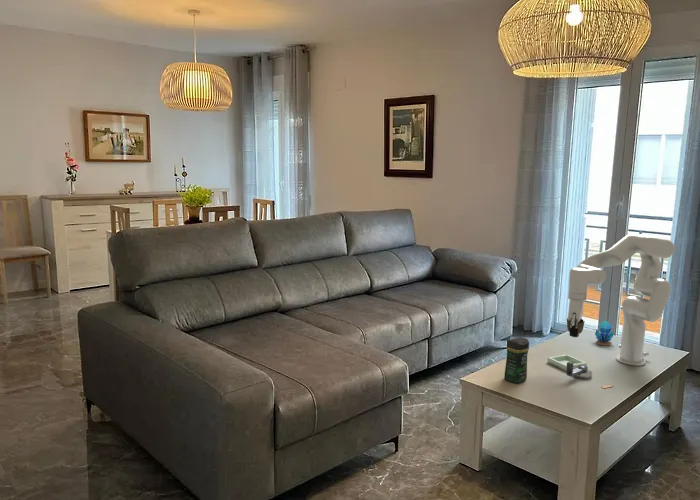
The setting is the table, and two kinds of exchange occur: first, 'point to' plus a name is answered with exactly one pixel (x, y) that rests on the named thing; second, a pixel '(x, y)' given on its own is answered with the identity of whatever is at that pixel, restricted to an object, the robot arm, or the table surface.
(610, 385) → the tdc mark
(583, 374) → the crank base
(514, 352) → the coffee jar
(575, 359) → the tray
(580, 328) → the ornate brass lampshade
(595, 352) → the table surface
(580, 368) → the crank
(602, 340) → the gemstone
